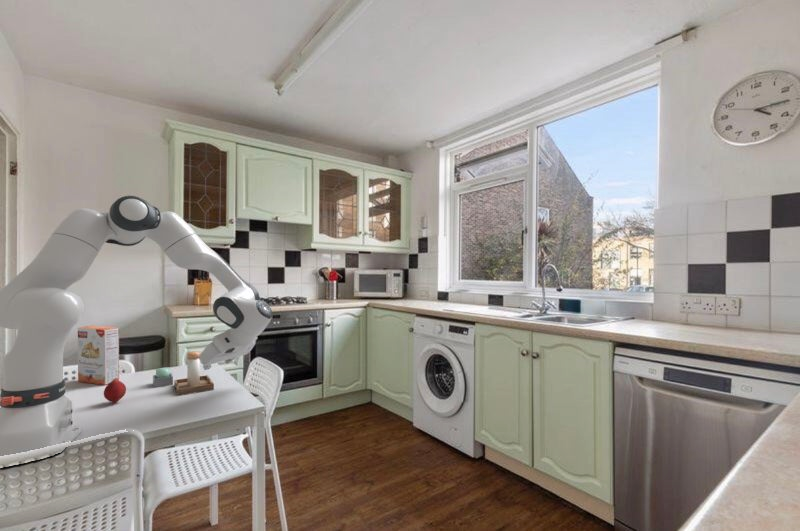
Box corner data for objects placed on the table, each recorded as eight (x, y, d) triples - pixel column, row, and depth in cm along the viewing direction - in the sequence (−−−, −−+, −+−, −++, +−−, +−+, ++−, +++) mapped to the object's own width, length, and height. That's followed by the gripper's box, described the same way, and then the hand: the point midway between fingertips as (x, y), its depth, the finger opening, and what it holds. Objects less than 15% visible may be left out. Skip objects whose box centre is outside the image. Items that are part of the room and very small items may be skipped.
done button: (170, 380, 144) (170, 369, 144) (156, 382, 141) (156, 371, 141) (169, 377, 147) (169, 366, 147) (155, 379, 145) (155, 368, 145)
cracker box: (76, 382, 146) (76, 327, 146) (93, 378, 152) (93, 324, 151) (103, 386, 142) (103, 329, 142) (119, 381, 147) (119, 326, 147)
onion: (114, 406, 121) (114, 381, 121) (99, 405, 122) (98, 380, 122) (130, 400, 127) (130, 376, 127) (115, 399, 128) (115, 375, 128)
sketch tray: (213, 389, 138) (213, 383, 138) (177, 395, 132) (177, 389, 132) (207, 380, 149) (207, 375, 149) (174, 385, 142) (174, 380, 142)
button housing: (172, 384, 143) (172, 376, 143) (153, 387, 140) (153, 379, 140) (171, 380, 148) (171, 372, 148) (152, 383, 145) (152, 375, 145)
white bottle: (200, 385, 140) (201, 352, 140) (187, 387, 137) (187, 354, 137) (199, 382, 143) (199, 350, 143) (186, 384, 141) (186, 352, 141)
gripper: (255, 328, 143) (234, 352, 146) (209, 337, 124) (187, 364, 127) (264, 341, 141) (243, 365, 145) (220, 352, 122) (196, 379, 126)
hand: (216, 365), depth 136 cm, fingers open, 8 cm apart
